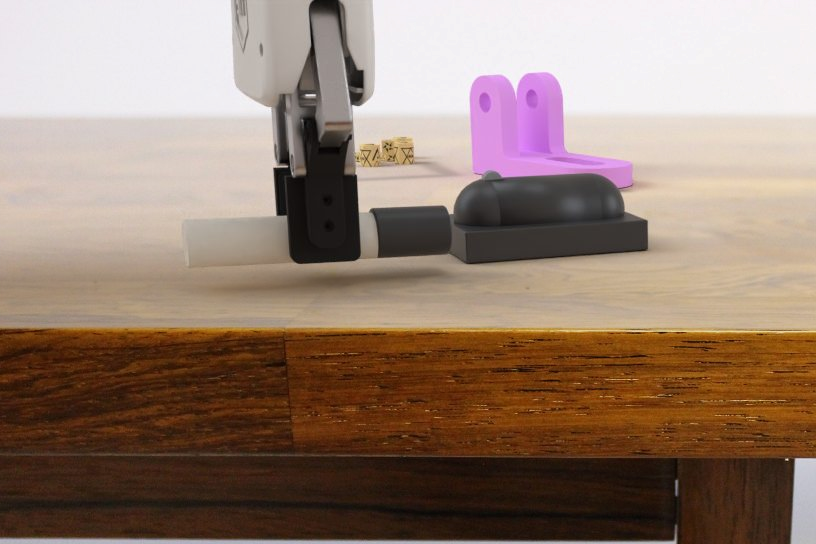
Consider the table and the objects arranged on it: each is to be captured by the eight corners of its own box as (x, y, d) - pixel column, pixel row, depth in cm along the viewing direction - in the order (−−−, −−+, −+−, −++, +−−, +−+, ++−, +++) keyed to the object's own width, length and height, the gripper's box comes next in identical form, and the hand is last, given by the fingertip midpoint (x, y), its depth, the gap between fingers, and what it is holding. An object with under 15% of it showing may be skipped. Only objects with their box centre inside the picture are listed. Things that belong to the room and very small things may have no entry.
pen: (190, 274, 67) (186, 221, 66) (183, 261, 69) (179, 210, 68) (452, 259, 72) (452, 210, 72) (439, 248, 74) (438, 200, 74)
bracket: (473, 172, 108) (468, 74, 106) (533, 166, 112) (530, 70, 110) (587, 191, 99) (584, 84, 97) (649, 184, 103) (648, 80, 101)
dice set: (411, 161, 118) (409, 136, 117) (428, 169, 113) (426, 143, 113) (346, 164, 116) (345, 139, 115) (361, 172, 111) (359, 146, 111)
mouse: (466, 263, 75) (462, 180, 74) (435, 244, 80) (431, 165, 79) (648, 249, 79) (647, 170, 78) (608, 232, 84) (606, 157, 83)
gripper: (182, -158, 70) (214, 232, 76) (232, -184, 56) (266, 294, 62) (342, -148, 73) (361, 226, 79) (426, -171, 60) (441, 283, 65)
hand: (319, 252), depth 71 cm, fingers closed on pen, 2 cm apart
